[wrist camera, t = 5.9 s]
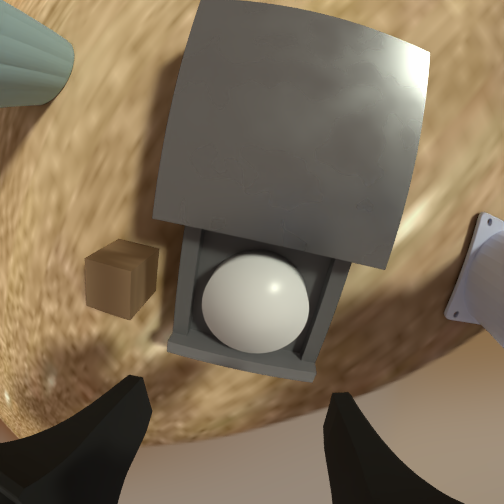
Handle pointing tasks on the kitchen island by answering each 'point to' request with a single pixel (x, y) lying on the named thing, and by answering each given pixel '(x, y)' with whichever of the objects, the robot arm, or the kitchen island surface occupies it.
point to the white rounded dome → (256, 302)
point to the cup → (30, 60)
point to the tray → (216, 352)
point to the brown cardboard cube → (121, 277)
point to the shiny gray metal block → (293, 130)
